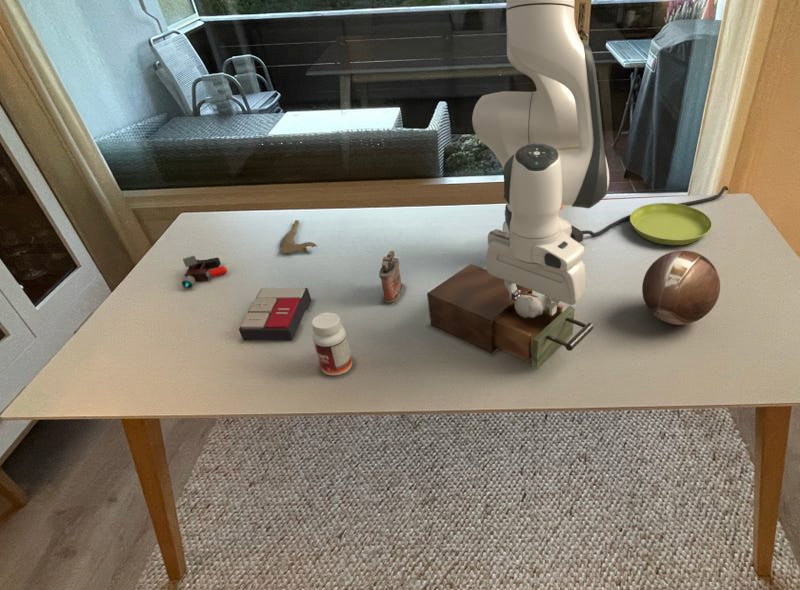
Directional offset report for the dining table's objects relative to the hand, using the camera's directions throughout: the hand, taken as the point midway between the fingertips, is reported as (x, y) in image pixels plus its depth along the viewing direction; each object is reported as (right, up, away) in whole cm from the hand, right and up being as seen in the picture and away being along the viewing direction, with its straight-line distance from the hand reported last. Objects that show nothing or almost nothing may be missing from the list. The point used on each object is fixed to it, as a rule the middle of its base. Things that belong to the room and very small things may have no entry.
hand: (532, 305), depth 110 cm
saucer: (+40, +24, +41) cm, 62 cm away
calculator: (-55, -2, +16) cm, 57 cm away
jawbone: (-58, +23, +45) cm, 77 cm away
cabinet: (-10, -2, +12) cm, 16 cm away
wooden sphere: (+31, -2, +11) cm, 33 cm away
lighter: (-30, +5, +22) cm, 38 cm away
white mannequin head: (+1, -2, +1) cm, 2 cm away
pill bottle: (-39, -12, +3) cm, 40 cm away
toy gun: (-78, +10, +31) cm, 84 cm away
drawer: (+1, -7, +5) cm, 9 cm away
